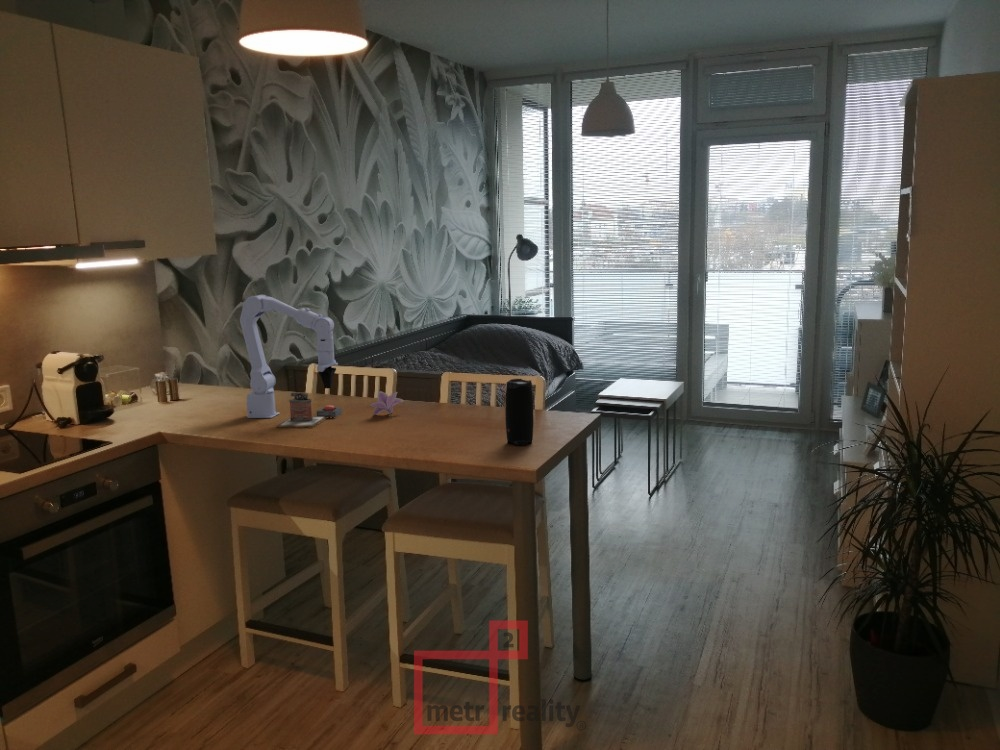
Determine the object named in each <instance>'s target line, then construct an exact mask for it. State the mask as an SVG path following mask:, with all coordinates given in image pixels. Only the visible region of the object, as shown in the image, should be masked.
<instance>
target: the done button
mask: <svg viewBox="0 0 1000 750" xmlns="http://www.w3.org/2000/svg"><path fill="white" fill-rule="evenodd" d="M323 407H324V410H330V411H333V410H334V407H335V405H334V404H329V405H328V404H327V405H324V406H323Z"/></svg>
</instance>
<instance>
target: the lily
mask: <svg viewBox="0 0 1000 750" xmlns="http://www.w3.org/2000/svg"><path fill="white" fill-rule="evenodd" d="M397 394H398V391H396V392H393V393H391V394H390V395H389V394H387V393H385V392H384V391H381V390H379V391H378V393H377V401H375V402H373V403H371V404H369V407H373V408H374V409H373V416H377V415H378V414H379V413H381V412H384V411H385V412H387V413H389V416H390V418H392V415H391V413H392V414H393V410H394V408H393V407H394V406H395V405H397V404H400V403H403V402H404V401H405V400H404V399H402V398H400V397H399V398H398V397H397Z"/></svg>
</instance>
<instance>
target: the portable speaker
mask: <svg viewBox="0 0 1000 750" xmlns="http://www.w3.org/2000/svg"><path fill="white" fill-rule="evenodd" d="M532 385H533V382H532V380H531V379H530V380H526V379H522V378H512V379H510V380H508V381H507V382H506V387H505V400H504V402H505V408H504V409H505V418H504V419H505V431H506V432H505V433H506V440H507V444H510V443H512V444H513V445H514V446H517V447H519V446H520V447H522V446H523V445H525V446H527V445H528V444H529V443H532V442H533V439H534V437H533V435H534V424H535V423H534V396H533V388H532V387H533V386H532Z"/></svg>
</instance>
